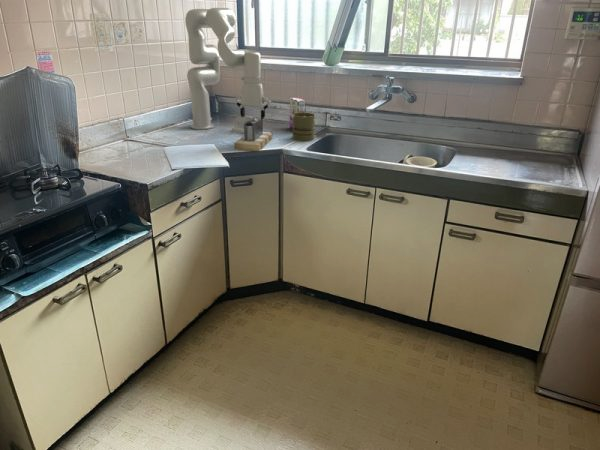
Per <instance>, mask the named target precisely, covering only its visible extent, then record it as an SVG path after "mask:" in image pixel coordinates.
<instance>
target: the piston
mask: <svg viewBox="0 0 600 450" xmlns="http://www.w3.org/2000/svg"><path fill="white" fill-rule="evenodd" d="M293 127H294V128H293V129H292V137H291V138H292V140H294V141H297V140H298V142H310V141H315V132H316V131H315V127H316V119H315V113H312V112H306V113H295V116H294V117H293Z"/></svg>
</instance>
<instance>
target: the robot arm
mask: <svg viewBox="0 0 600 450" xmlns="http://www.w3.org/2000/svg"><path fill="white" fill-rule="evenodd" d="M184 18H185V19H184V20H185V21H184V22H185V28H186V31H187V35H188V36H187V37H188V57H189V60H190V62H191V64H193V65H207V66H195V67H194V66H193V67H191V68H190V69H189V70H187V74H186V77H187V81H188V84H189V85H188V86H189V90H190V99H191V101H190V102H191V109H192V123H193V124H191V125H190V128H191V129H193V130H199V131H200V130H204V131H205V130H210V129H212V128H214V127H215V124H213V123H212V122H211V121H212V120H213V118H212V117H211V105H210V103H211V102H210V95H209V91H208V90H207V88H206V86H212V85H213V86H214V85H217V84H218V83H219V82H220V78H221V71H220V70H221V66H220V65H221V63H220V60H222V62H223V63H224V64H225V65H226V67H228V68H243V76H241V81H243V82H242V84H241V90H240V95H239V96H237V97H235V98H234V101H235V104H236V105H237V107H238V108H239V109H240V116H241V117H244V116H245V115H246V113H245V112H246V109H245V107H259V108H260V109H261V110H260V118H261V119H265V117H266V109H267V108H268V107H269V106H270V104H271V100H270V99H268V98H267V97H266V96H264V87H263V84H262V83H261V80H262V78H261V77H262V76H261V75H262V74H261V70H262V69H261V66H262V65H261V61H262V60H261V59H262V58H261V53H260V52H258V51H255V50H254V51H253V50H250V49H231V48H230V47H229V45H228V44H229V43H231V42H232V41H233V39H235V36H236V31H235V29H234V28H233V27H234V26H235V24H236V23H237V22H236V20H237V19H236V18H237V16H236V15H235V12H234V11H233V10H232V8H229V7H211V8H207V9H206V8H194V9H193V8H192V9H190V10H188V11H187V12H186V15H185V17H184ZM203 29H211V30H212V31H213V33H214V34H215V36H216V37H217V39H218V40H217V41H218V42H217V46H216V45H214V44H207V43H206V42H207V41H206V35H205V32H204V31H203ZM264 102H265V103H266V104H265V105H264Z"/></svg>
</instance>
